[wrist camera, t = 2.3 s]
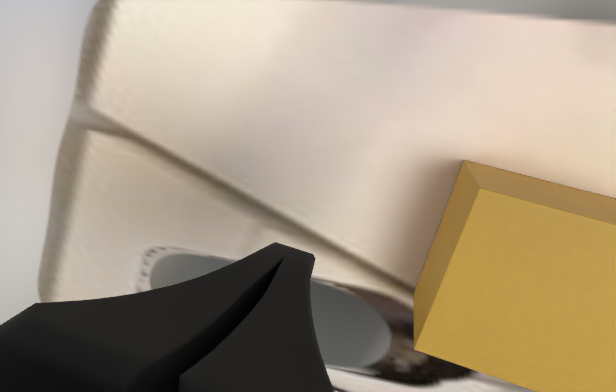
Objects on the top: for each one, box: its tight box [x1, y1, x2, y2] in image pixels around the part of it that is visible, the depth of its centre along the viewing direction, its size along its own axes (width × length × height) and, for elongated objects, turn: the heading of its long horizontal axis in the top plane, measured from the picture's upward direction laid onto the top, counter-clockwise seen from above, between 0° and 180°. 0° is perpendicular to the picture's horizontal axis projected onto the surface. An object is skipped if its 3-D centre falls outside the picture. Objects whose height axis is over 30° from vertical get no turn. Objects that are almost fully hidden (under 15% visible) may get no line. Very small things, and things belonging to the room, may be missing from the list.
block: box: [414, 160, 616, 392], centre depth 15 cm, size 7×7×4 cm
